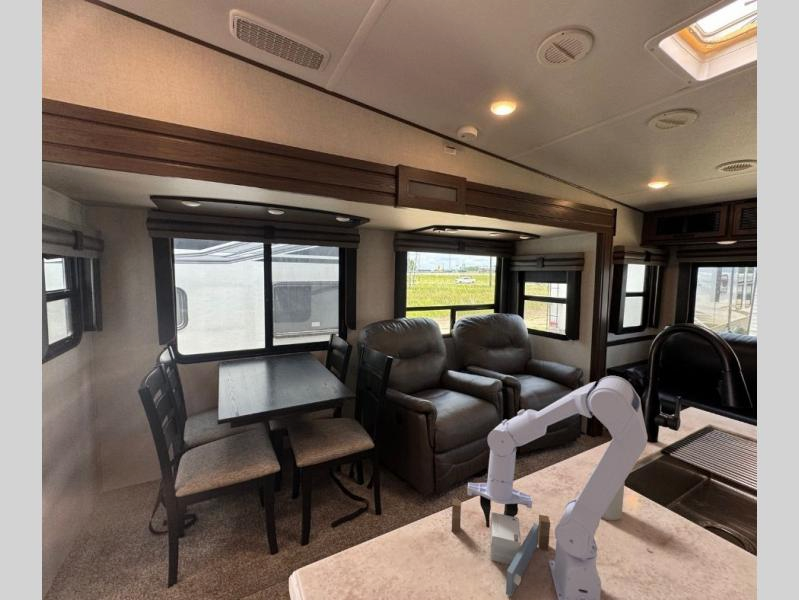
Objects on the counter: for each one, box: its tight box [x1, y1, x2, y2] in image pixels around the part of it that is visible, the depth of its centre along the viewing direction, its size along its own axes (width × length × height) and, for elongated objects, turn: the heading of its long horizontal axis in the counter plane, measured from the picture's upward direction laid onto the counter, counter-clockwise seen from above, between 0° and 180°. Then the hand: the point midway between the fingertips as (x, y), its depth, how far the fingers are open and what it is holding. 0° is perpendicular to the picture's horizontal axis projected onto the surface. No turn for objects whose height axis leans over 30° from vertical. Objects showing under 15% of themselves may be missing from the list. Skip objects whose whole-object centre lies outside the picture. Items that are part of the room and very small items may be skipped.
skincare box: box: [489, 512, 522, 565], centre depth 72 cm, size 6×6×7 cm
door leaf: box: [505, 522, 539, 598], centre depth 68 cm, size 2×16×5 cm, turn 139°
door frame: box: [451, 498, 551, 552], centre depth 77 cm, size 2×22×7 cm, turn 76°
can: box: [590, 463, 626, 521], centre depth 86 cm, size 8×8×12 cm
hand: (495, 526), depth 77 cm, fingers open, 3 cm apart
